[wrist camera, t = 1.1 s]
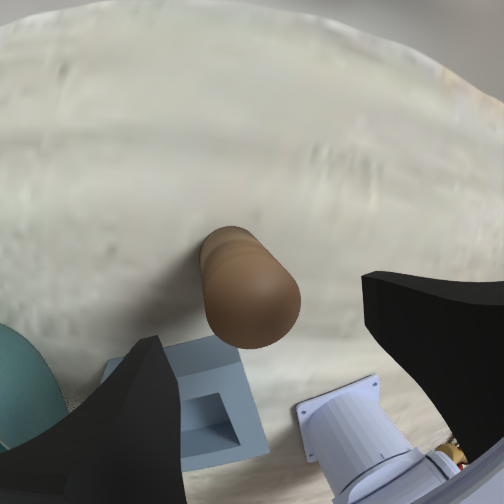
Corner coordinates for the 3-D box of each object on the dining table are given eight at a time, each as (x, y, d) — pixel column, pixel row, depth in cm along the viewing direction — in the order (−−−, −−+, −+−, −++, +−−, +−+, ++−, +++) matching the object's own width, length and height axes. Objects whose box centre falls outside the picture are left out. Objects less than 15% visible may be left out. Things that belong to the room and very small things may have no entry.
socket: (260, 419, 25) (270, 452, 21) (156, 442, 23) (155, 476, 20) (232, 330, 22) (240, 361, 18) (108, 360, 21) (97, 392, 17)
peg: (266, 276, 21) (306, 333, 14) (208, 292, 21) (220, 359, 13) (253, 219, 20) (292, 249, 13) (192, 235, 20) (193, 276, 12)
